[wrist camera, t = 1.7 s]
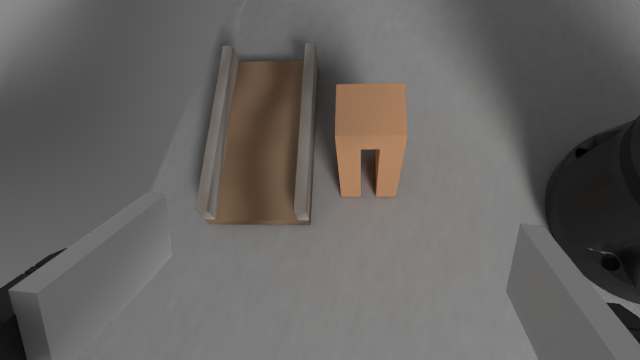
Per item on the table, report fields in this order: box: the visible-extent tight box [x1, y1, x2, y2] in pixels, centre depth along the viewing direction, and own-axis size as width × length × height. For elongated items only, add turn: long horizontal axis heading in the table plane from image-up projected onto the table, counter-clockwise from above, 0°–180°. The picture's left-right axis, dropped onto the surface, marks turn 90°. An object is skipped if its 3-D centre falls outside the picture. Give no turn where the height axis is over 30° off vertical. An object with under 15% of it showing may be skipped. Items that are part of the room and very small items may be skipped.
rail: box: [195, 43, 318, 225], centre depth 41 cm, size 10×18×4 cm, turn 178°
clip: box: [335, 83, 408, 197], centre depth 35 cm, size 5×4×11 cm
